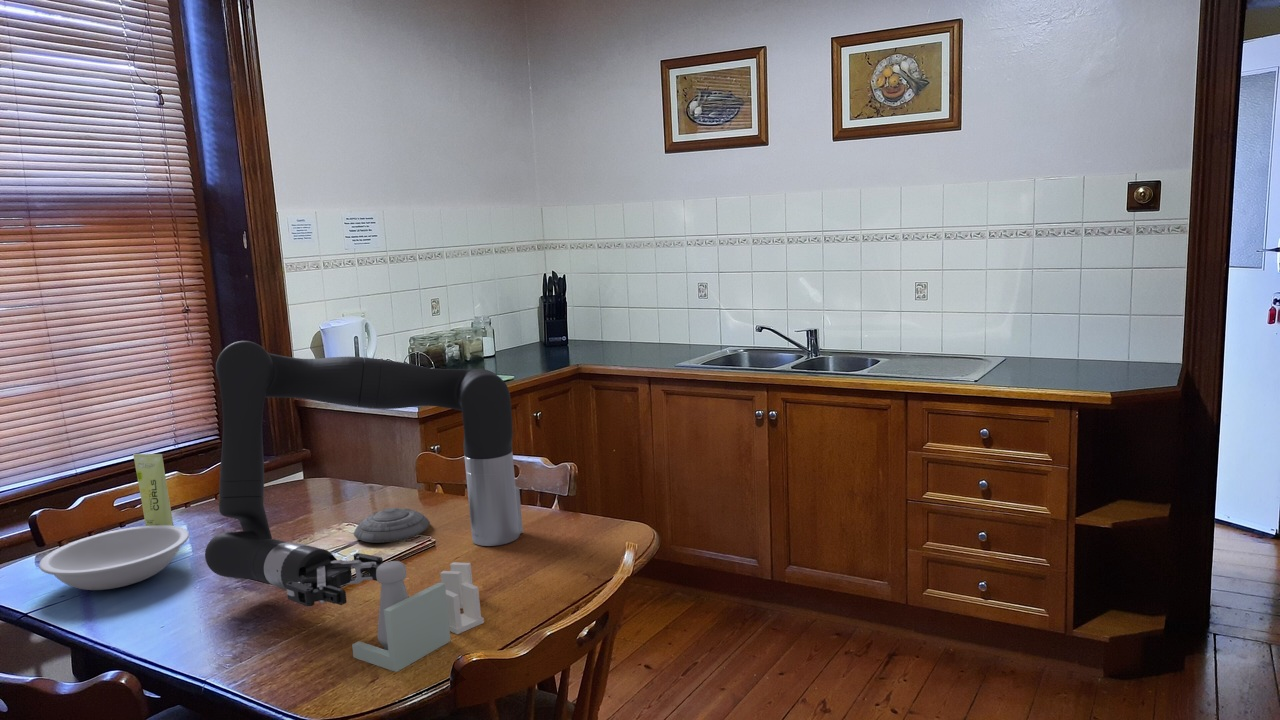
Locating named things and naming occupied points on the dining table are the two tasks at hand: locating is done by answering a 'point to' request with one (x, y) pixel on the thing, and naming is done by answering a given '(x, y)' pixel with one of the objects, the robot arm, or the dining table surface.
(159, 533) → the soup bowl
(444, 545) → the dining table surface
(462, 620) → the clip
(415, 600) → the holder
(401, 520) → the flying saucer
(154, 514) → the tube
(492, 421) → the robot arm
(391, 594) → the salt shaker
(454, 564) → the clip
